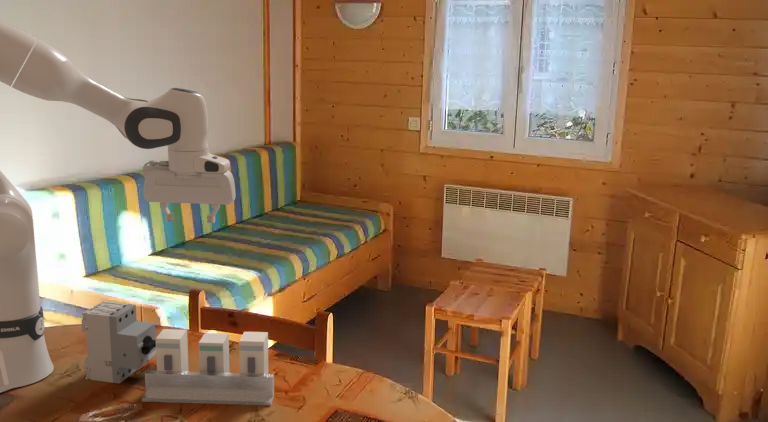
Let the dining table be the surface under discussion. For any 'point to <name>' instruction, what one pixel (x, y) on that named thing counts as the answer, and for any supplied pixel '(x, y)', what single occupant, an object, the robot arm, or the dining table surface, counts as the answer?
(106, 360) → the circuit breaker
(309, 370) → the dining table surface
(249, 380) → the rail
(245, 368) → the module right
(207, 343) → the loose module
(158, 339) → the module left
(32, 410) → the dining table surface
